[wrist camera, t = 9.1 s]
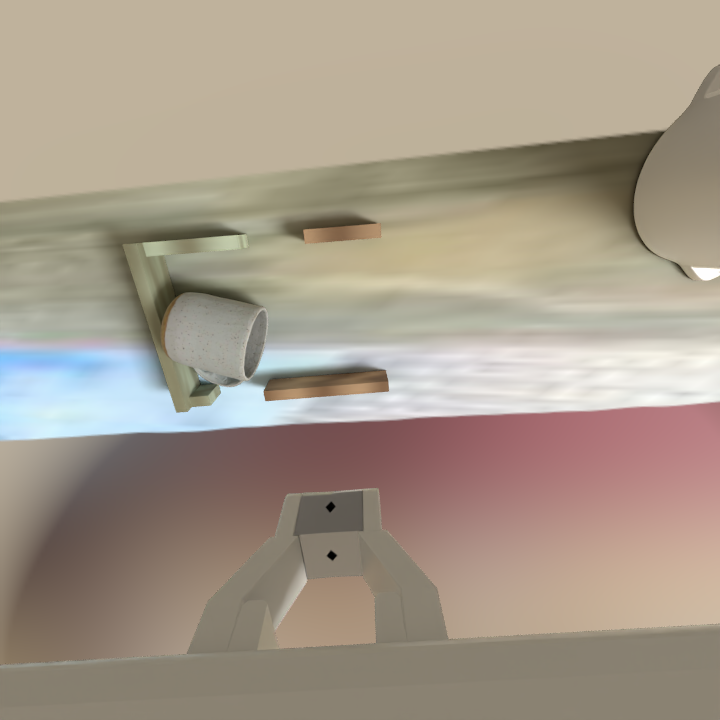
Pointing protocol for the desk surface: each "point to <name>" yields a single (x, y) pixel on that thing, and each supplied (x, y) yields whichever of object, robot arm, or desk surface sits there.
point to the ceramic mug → (215, 336)
